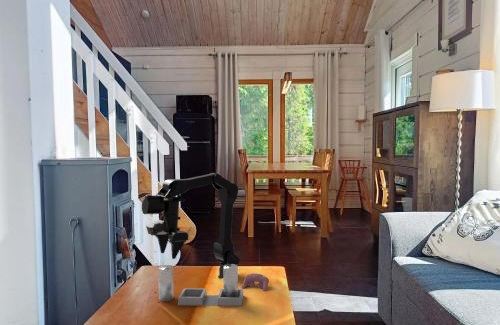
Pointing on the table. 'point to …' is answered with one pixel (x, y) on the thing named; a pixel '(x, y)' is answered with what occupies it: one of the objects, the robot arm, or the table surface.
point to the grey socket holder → (208, 298)
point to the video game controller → (256, 278)
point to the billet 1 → (165, 282)
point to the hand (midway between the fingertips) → (167, 255)
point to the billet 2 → (230, 280)
